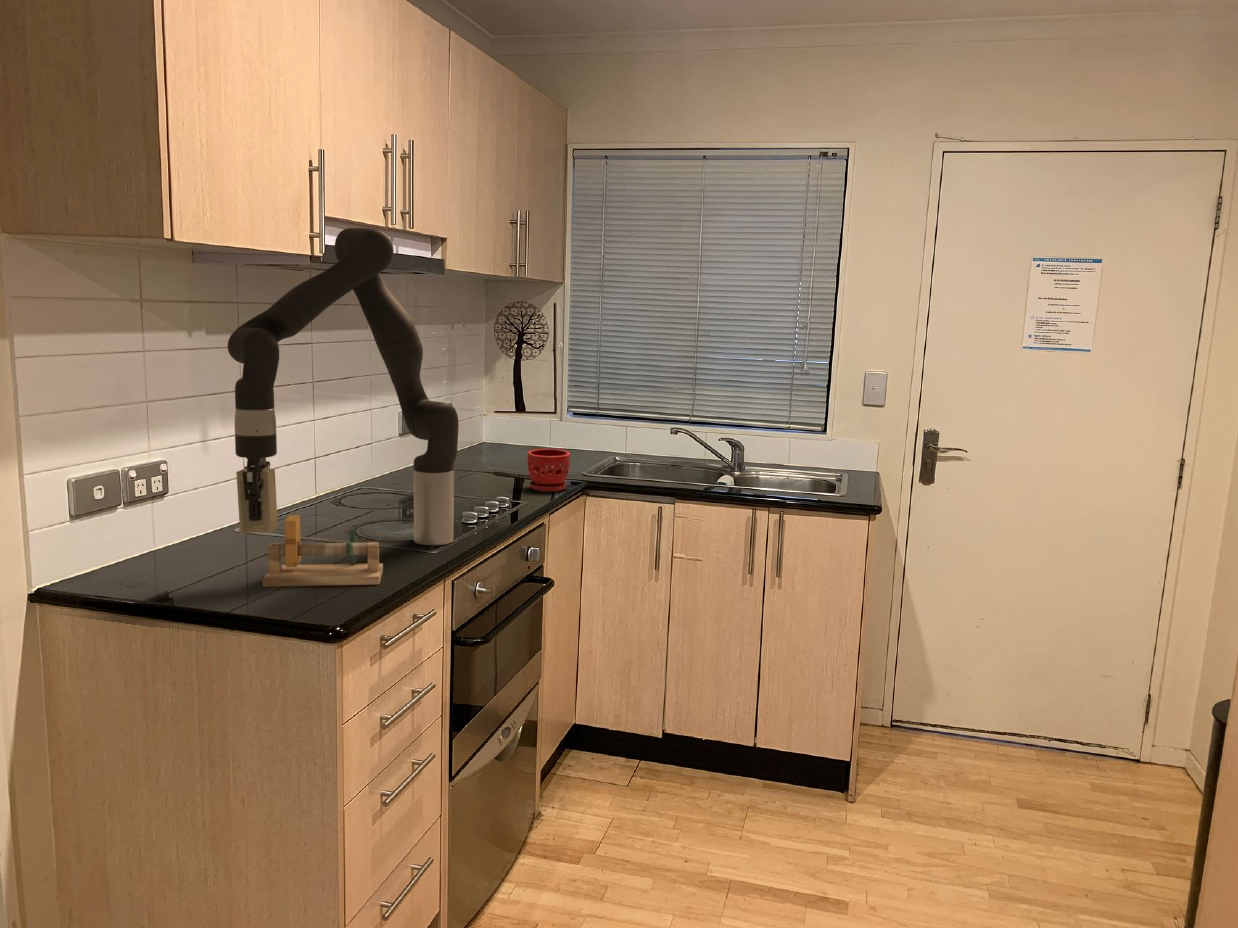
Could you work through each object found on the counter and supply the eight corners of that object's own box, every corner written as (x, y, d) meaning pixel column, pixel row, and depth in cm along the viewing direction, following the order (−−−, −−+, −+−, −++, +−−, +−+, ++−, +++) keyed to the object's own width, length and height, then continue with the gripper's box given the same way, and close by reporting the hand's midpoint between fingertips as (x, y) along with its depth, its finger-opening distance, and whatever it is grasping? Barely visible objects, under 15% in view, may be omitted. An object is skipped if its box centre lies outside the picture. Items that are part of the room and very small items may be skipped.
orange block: (290, 559, 184) (289, 514, 183) (301, 559, 185) (300, 514, 183) (285, 567, 179) (284, 521, 177) (296, 567, 179) (295, 521, 178)
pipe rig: (272, 572, 186) (271, 529, 185) (382, 570, 190) (382, 528, 189) (262, 586, 177) (261, 541, 175) (379, 584, 181) (378, 540, 179)
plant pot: (519, 487, 284) (519, 450, 282) (554, 484, 292) (555, 447, 290) (541, 495, 274) (542, 456, 272) (577, 491, 282) (578, 453, 280)
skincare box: (278, 528, 182) (277, 468, 180) (271, 533, 177) (269, 472, 175) (246, 527, 181) (244, 467, 179) (237, 532, 177) (235, 471, 175)
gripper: (268, 436, 170) (271, 525, 173) (282, 427, 184) (284, 509, 187) (226, 436, 169) (229, 525, 171) (243, 426, 183) (246, 509, 185)
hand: (258, 516), depth 179 cm, fingers closed on skincare box, 4 cm apart
